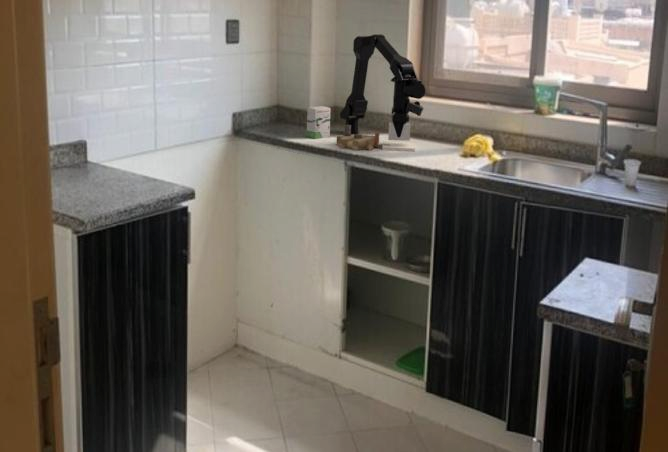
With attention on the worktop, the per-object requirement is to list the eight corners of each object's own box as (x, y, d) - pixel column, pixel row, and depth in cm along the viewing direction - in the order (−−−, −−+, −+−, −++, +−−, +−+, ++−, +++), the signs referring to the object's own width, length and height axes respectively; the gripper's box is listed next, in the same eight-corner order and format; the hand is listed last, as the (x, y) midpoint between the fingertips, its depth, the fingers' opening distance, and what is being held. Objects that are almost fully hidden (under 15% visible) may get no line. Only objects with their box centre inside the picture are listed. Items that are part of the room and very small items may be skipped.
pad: (382, 143, 328) (382, 141, 327) (413, 145, 327) (413, 142, 327) (382, 149, 317) (382, 146, 317) (414, 151, 317) (414, 148, 316)
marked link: (388, 137, 323) (389, 121, 322) (409, 138, 323) (410, 122, 321) (388, 139, 320) (389, 123, 318) (409, 140, 319) (410, 124, 318)
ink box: (314, 139, 332) (315, 109, 329) (305, 137, 336) (306, 107, 332) (330, 136, 338) (331, 107, 334) (321, 134, 341) (322, 105, 338)
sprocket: (328, 145, 320) (328, 126, 318) (353, 139, 332) (354, 121, 330) (361, 151, 311) (362, 132, 309) (386, 145, 323) (387, 127, 321)
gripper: (424, 99, 307) (421, 142, 312) (421, 92, 325) (418, 132, 330) (393, 98, 308) (391, 140, 312) (392, 91, 325) (390, 131, 330)
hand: (398, 136), depth 321 cm, fingers closed on marked link, 4 cm apart
